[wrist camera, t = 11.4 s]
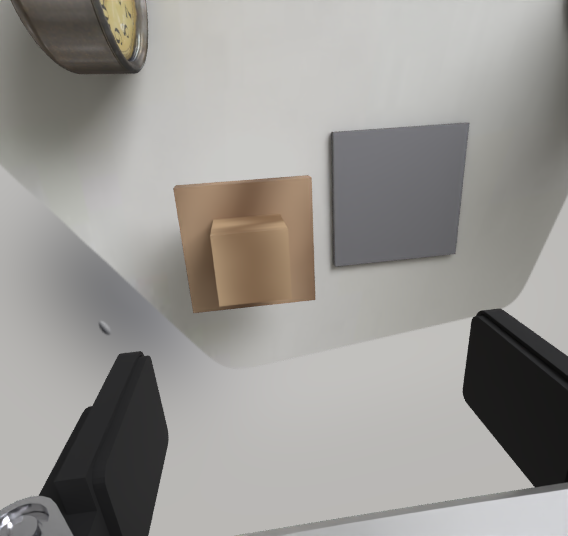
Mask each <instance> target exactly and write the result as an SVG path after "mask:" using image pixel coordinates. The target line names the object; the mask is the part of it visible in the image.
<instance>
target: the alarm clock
mask: <svg viewBox="0 0 568 536" xmlns="http://www.w3.org/2000/svg"><path fill="white" fill-rule="evenodd" d="M11 2H12V4H13V6H14V8H15V10H16V12H17V14H18V15H19V17H20V19H21V21H22V23H23V24H24V26H25V27H26V29H27V30H28V32H29V33H30V35H31V36H32V38H33V39H34V40H35V42H36V43H37V44H38V45H39V46H40V48H41V49H42V50H43V51H44V52H45V53H46V54H47V55H48V56H49V57H50V58H51V59H52V60H53V61H54V62H56V63H57V64H58V65H60V66H61V67H63V68H65V69H66V70H68V71H71V72H73V73H77V74H135V73H138V72H139V71H140V70H141V69H142V67H143V65H144V63H145V60H146V55H147V49H148V19H147V6H146V0H11Z"/></svg>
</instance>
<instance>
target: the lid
mask: <svg viewBox="0 0 568 536" xmlns="http://www.w3.org/2000/svg"><path fill="white" fill-rule="evenodd" d="M173 189H174V195H175V202H176V208H177V214H178V220H179V226H180V233H181V239H182V245H183V251H184V257H185V264H186V270H187V276H188V282H189V289H190V295H191V301H192V307H193V313H199V312H208V311H217V310H226V309H236V308H245V307H254V306H263V305H272V304H281V303H290V302H299V301H309V300H315V276H314V244H313V211H312V178H311V177H310V176H308V175H307V176H294V177H281V178H268V179H255V180H242V181H228V182H215V183H202V184H189V185H176V186H175V187H174V188H173Z"/></svg>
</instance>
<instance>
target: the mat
mask: <svg viewBox="0 0 568 536" xmlns="http://www.w3.org/2000/svg"><path fill="white" fill-rule="evenodd" d="M468 131H469V123H455V124H441V125H427V126H412V127H398V128H384V129H369V130H355V131H341V132H332V180H333V246H334V265H335V267H336V266H345V265H355V264H364V263H374V262H383V261H393V260H403V259H412V258H422V257H431V256H441V255H450V254H455V252H456V243H457V234H458V224H459V215H460V206H461V196H462V187H463V178H464V168H465V159H466V149H467V140H468Z"/></svg>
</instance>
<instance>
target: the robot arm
mask: <svg viewBox="0 0 568 536" xmlns="http://www.w3.org/2000/svg"><path fill="white" fill-rule="evenodd" d="M463 396H464V399H465V401H466V403H467V404H468V405H469V406H470V408H471V409H472V410H473V411H474V413H475V414H476V415H477V416H478V418H479V419H480V420H481V421H482V422H483V424H484V425H485V426H486V427H487V429H488V430H489V431H490V432H491V434H492V435H493V436H494V437H495V439H496V440H497V441H498V442H499V444H500V445H501V446H502V447H503V448H504V450H505V451H506V452H507V453H508V455H509V456H510V457H511V458H512V460H513V461H514V462H515V463H516V465H517V466H518V467H519V468H520V469H521V471H522V472H523V473H524V474H525V476H526V477H527V478H528V479H529V480H530V482H531V483H532V484H533V486H535V488H529V489H522V490H516V491H509V492H502V493H496V494H489V495H483V496H476V497H470V498H463V499H457V500H451V501H445V502H438V503H432V504H425V505H419V506H413V507H407V508H401V509H395V510H388V511H383V512H376V513H370V514H364V515H357V516H351V517H345V518H338V519H333V520H326V521H320V522H315V523H308V524H303V525H296V526H290V527H284V528H278V529H272V530H266V531H260V532H255V533H248V534H242V535H236V536H568V356H566V355H565V354H564V353H562V352H561V351H559V350H558V349H557V348H555V347H554V346H553V345H551V344H550V343H548V342H547V341H545V340H544V339H543V338H541V337H540V336H539V335H537V334H536V333H534V332H533V331H532V330H530V329H529V328H527V327H526V326H525V325H523V324H522V323H520V322H519V321H518V320H516V319H515V318H513V317H512V316H511V315H509V314H508V313H506V312H505V311H504V310H502V309H491V310H483V311H479V312H478V313H477V315H476V316H475V317H473V319H472V322H471V330H470V337H469V345H468V353H467V360H466V369H465V376H464V384H463ZM167 446H168V429H167V425H166V420H165V416H164V412H163V408H162V404H161V399H160V395H159V390H158V386H157V382H156V378H155V373H154V369H153V365H152V361H151V358H150V356H144V355H143V353H142V352H141V351H139V352H131V353H123V354H119V355H118V357H117V359H116V361H115V363H114V365H113V367H112V369H111V371H110V373H109V375H108V376H107V378H106V380H105V382H104V384H103V386H102V389H101V390H100V392H99V394H98V396H97V398H96V400H95V402H94V404H93V406H91V407H88V408H86V409H85V410H84V412H83V413H82V415H81V417H80V419H79V421H78V423H77V424H76V427H75V428H74V430H73V432H72V434H71V436H70V438H69V440H68V442H67V443H66V445H65V447H64V449H63V451H62V453H61V455H60V457H59V459H58V460H57V462H56V464H55V466H54V468H53V470H52V472H51V473H50V475H49V477H48V479H47V481H46V483H45V485H44V487H43V489H42V490H41V492H40V494H39V496H34V497H28V498H25V499H22V500H19V501H16V502H14V503H13V504H10V505H9V506H7V507H5V508H3V509H2V510H0V536H148V534H149V530H150V525H151V520H152V515H153V511H154V506H155V502H156V497H157V492H158V488H159V483H160V479H161V474H162V469H163V464H164V460H165V455H166V450H167Z"/></svg>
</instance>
